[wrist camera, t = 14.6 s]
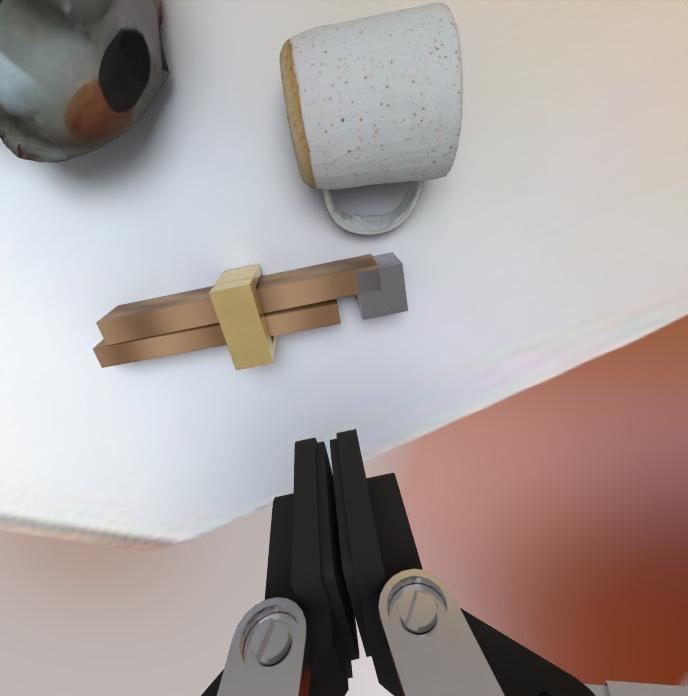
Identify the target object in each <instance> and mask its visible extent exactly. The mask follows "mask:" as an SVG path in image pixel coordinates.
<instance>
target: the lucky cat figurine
mask: <svg viewBox="0 0 688 696" xmlns="http://www.w3.org/2000/svg"><path fill="white" fill-rule="evenodd" d="M161 21H162V16H161V5H160V0H0V137H1V139H2V140H3V143H4V144H5V145H6V147H7V148H9V149H10V150H11V151H12V152H13V153H14V154H15V155H16V156H17V157H19V158H22V159H26V160H33V161H37V162H60V161H65V160H68V159H72V158H74V157H77V156H81V155H84V154H87V153H89V152H91V151H94V150H96V149H98V148H100V147H102V146H104V145H106V144H107V143H109V142H111V141H113V140H114V139H116V138H118V137H119V136H121V135H122V134H124V133H125V132H126V131H127V130H128V129H129V128H130V127H132V126H133V125H134V123H136V122H137V121H138V120H139V119H140V118H141V117H142V115H143V114H144V113H145V112H146V110H147V108H148V106H149V105H150V104H151V102H152V100H153V99H154V97H155V95H156V94H157V92H158V91H159V89H160V88H161V87H162V86H163V84H164V83H165V81H166V78H167V77H168V75H169V71H168V67H167V63H166V59H165V56H164V52H163V48H162V44H161V37H160V24H161Z"/></svg>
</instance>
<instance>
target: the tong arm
mask: <svg viewBox="0 0 688 696" xmlns="http://www.w3.org/2000/svg"><path fill="white" fill-rule="evenodd" d="M264 316H265V320H266V323H267V327H268V330H269V334H270V337H271V336H276V335H282V334H287V333H292V332H298V331H303V330H309V329H314V328H319V327H325V326H330V325H336V324H341V323H340V317H339V312H338V306H337V301H336V299H332V300H327V301H322V302H318V303H313V304H308V305H303V306H298V307H293V308H288V309H283V310H278V311H273V312H269V313H264ZM222 345H227V343H226V340H225V337H224V335H223V332H222V329H221V326H220V323H215V324H210V325H205V326H200V327H195V328H190V329H185V330H180V331H175V332H170V333H166V334H161V335H156V336H151V337H146V338H141V339H136V340H131V341H126V342H121V343H116V344H112V345H107V344H106V342H105V340H104V339H103V340H102V341H101V342H100V343H99V344H98V345H97V346H96V347H94V348H93V351H94V353H95V355H96V357H97V359H98V361H99V363H100V365H101V367H102V368H104V367H109V366H114V365H120V364H125V363H131V362H136V361H141V360H147V359H152V358H158V357H163V356H168V355H174V354H179V353H185V352H190V351H195V350H201V349H206V348H212V347H217V346H222Z"/></svg>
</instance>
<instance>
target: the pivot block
mask: <svg viewBox="0 0 688 696" xmlns="http://www.w3.org/2000/svg"><path fill="white" fill-rule="evenodd" d="M373 258H374V260H375V261H376V263H377V264H378V268H377V269H375V270H374V269H372V270H370V271H369V270H367V271H364V272H360V273H359V272H358V273H355V276H356V277H357V278H356V279H357V280H356V281H357V282H359V283H358V285H359V284H360V283H361V284H360V285H359V287H360V288H358V293H359V294H357V295H356V296H357V301H358V305H359V308H360V311H361V314H362V317H363V320H365V319H370V318H374V317H379V316H384V315H389V314H394V313H399V312H404V311H408V307H407V299H406V291H405V283H404V274H403V266H402V263H401V262H400V260H399V259H398V258H397V257H396V256H395V255H394V254H393V252H392V253H388V254H383V255H378V256H373ZM377 271H379V272H377ZM367 272H368V273H367ZM373 273H375V274H374V276H373V277H372V276H371V275H373ZM376 273H377V274H378V273H379V274H378V275H377V274H376ZM363 274H364V275H363ZM361 275H362V276H361ZM378 276H379V277H378ZM359 277H360V278H359ZM364 277H365V278H364ZM371 277H372V279H371ZM361 278H362V279H361ZM379 278H380V279H379ZM376 279H377V280H376ZM369 280H370V281H369ZM378 280H379V282H378ZM364 282H365V283H364ZM368 282H369V283H368ZM370 282H371V283H370ZM374 282H376V283H374ZM377 282H378V283H377ZM363 283H364V284H365V285H364V284H363ZM379 283H380V285H379ZM369 284H370V285H369ZM358 285H357V287H358ZM367 285H368V286H367ZM372 285H373V286H374V288H373V287H372ZM377 285H379V286H377ZM376 286H377V287H376ZM380 287H381V288H380ZM379 288H380V289H379ZM370 289H372V290H370ZM375 289H376V290H375ZM377 289H378V290H377ZM360 291H362V292H360ZM366 291H368V292H367V293H366Z"/></svg>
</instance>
